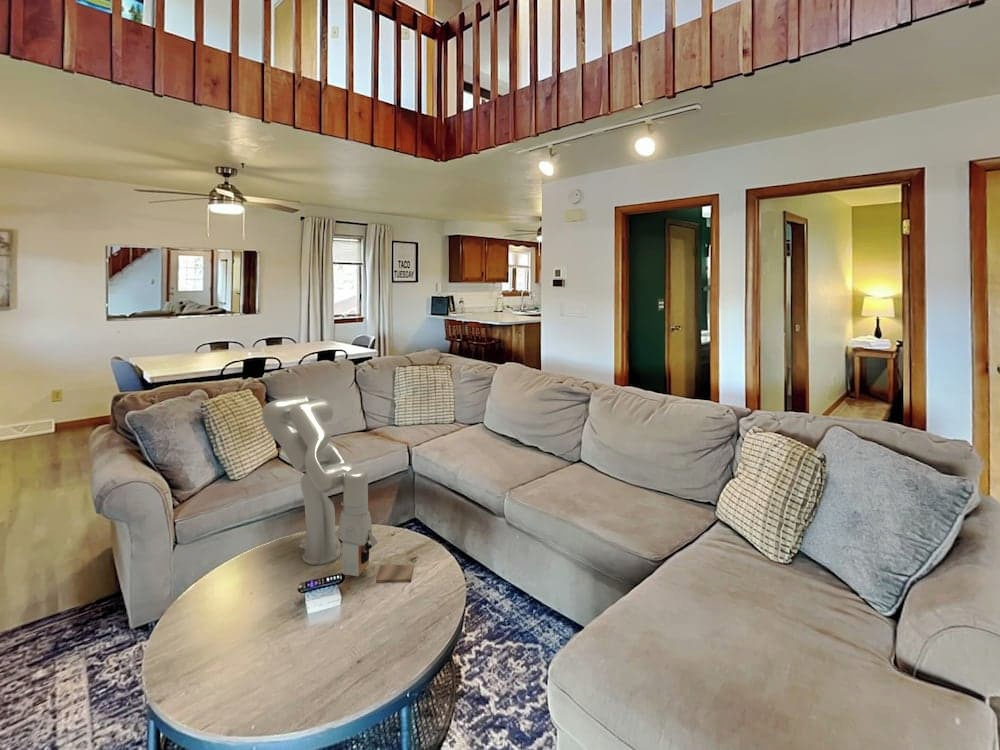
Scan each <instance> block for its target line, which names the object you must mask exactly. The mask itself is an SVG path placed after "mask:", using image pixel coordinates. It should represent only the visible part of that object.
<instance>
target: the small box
mask: <svg viewBox="0 0 1000 750" xmlns="http://www.w3.org/2000/svg"><path fill="white" fill-rule="evenodd" d="M368 541H369V542H370V540H368ZM365 546H366V544H365ZM362 552H363V550H362V547H361V546H359V545H355V544H351V543H347V542H345V543H344V544H343V547H342V575H347V576H354V577H360V575H361V574H362V572H363V571H365V570H366V568H367V567H368V566H369V564H370V558H369V559H368V561H366V562H365V563H364V564H362V563H361V553H362Z"/></svg>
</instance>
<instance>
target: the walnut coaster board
mask: <svg viewBox="0 0 1000 750" xmlns="http://www.w3.org/2000/svg"><path fill="white" fill-rule="evenodd" d="M414 567H415V566H414V564H381V565H380V566H379V569H378V572H377V575H376V578H375V583H378V584H381V583H382V584H383V583H385V584H386V583H388V584H389V583H411V581H412V578H413V572H414Z"/></svg>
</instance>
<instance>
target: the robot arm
mask: <svg viewBox="0 0 1000 750" xmlns="http://www.w3.org/2000/svg"><path fill="white" fill-rule="evenodd" d="M261 415H262V421H263V425H264V427H265V428H266V430H267V432H268V433H269V435H270V436H271V437H272V438H273V439H274V440H275V441H276V442H277V443H278V444H279V446H280V447H281V449H282V450H283V453H284V454H285V456H286V457H287V459H288V461H289V462H290V464H291V465H292V467H293V468H294V469H295V470H296V471H297V472H299V473H304V472H305V473H304V474H303V475H302V477H301V479H300V489H301V493H302V495H303V503H304V511H305V512H304V513H305V514H304V515H305V533H306V534H305V535H306V539H304V538H303V539H301V541H300V543H299V546H298V547H299V549H304V552H303V554H302V561H303V562H304V563H305V564H308V565H315V566H316V565H317V566H318V565H319V566H321V565H325V564H329V563H330V564H331V563H332V562H334V561H336V560H338V558H339V557H340V556H341V553H342V551H341V548H343V544H344V543H345V542H347V543H351V544H355V545H359V546H361V547H362V550H363V552H362V553H361V563H362V564H364V563H365V562H366V561H368V559H369V560H370V550H371V549H372V548H373V547H374V546H375V545H377V544H378V540H377V539H376V537H375V536H374V535H373V527H372V526H373V525H372V517H371V514H370V513H371V512H370V511H369V490H368V489H369V475H368V472H367V471H366V470H364V469H362V468H359V467H357V466H356V465H355V464H354V463H352V462H351V461H347V460H345V458H344V456H343V455H342V454H341V452H340V451H339V449H338V448H337V446H336V444H335V443H333V442H332V441H331V440H332V433H331V431H330V430H329V429H328V427H327V426H326V424H325V423H328V422H330V421H331V420H332V419H333V417H334V409H333V406H332V404H331V403H330V402H329V401H328V400H326V399H324V398H321V397H316V396H312V395H298V396H291V397H285V398H279V399H276V400H273V401H270V402H268V403H267V404H265V405H264V407H263V408H262V412H261ZM289 422H291V423H292V424H293V425H292V424H290V423H289ZM341 490H343V491H342V492H343V501H341V503H340V505H341V506H342V507H343V510H341V513H340V515H339V516H340V517H339V523H338V530H336V515H335V513H336V512H335V510H336V509H335V505H334V503H333V501H332V500H331V499H330V498H329V495H330V494H333V493H336V492H338V491H341ZM337 539H338V541H339V542H340V546H341V548H340V547H339V546H337V541H336V540H337ZM368 540H369V541H368ZM365 544H366V546H365Z"/></svg>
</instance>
